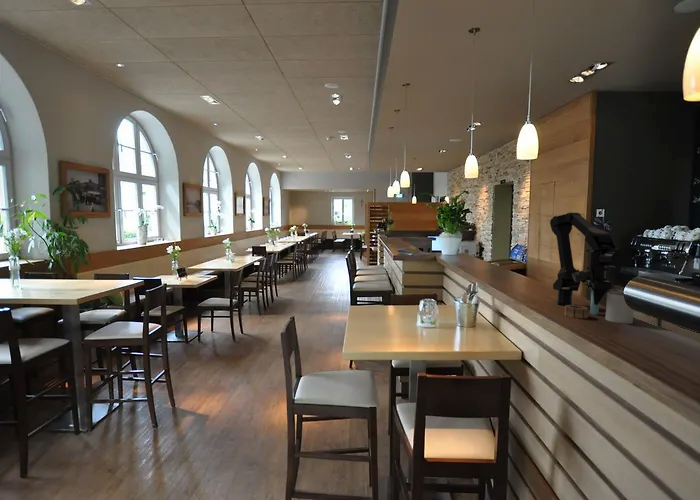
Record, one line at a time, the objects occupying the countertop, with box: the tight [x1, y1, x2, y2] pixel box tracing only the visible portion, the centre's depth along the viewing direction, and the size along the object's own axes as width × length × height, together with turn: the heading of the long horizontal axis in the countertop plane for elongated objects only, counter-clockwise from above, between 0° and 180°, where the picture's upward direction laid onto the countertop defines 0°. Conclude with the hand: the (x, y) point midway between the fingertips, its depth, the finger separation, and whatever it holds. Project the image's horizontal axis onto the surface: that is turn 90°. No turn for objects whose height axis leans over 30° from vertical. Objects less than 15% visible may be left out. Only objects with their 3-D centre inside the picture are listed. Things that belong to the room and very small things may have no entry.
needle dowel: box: [589, 291, 600, 316], centre depth 160 cm, size 3×3×10 cm
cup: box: [604, 291, 635, 324], centre depth 150 cm, size 8×8×10 cm
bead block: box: [564, 304, 590, 319], centre depth 156 cm, size 8×8×4 cm
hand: (594, 303), depth 160 cm, fingers closed on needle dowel, 3 cm apart
